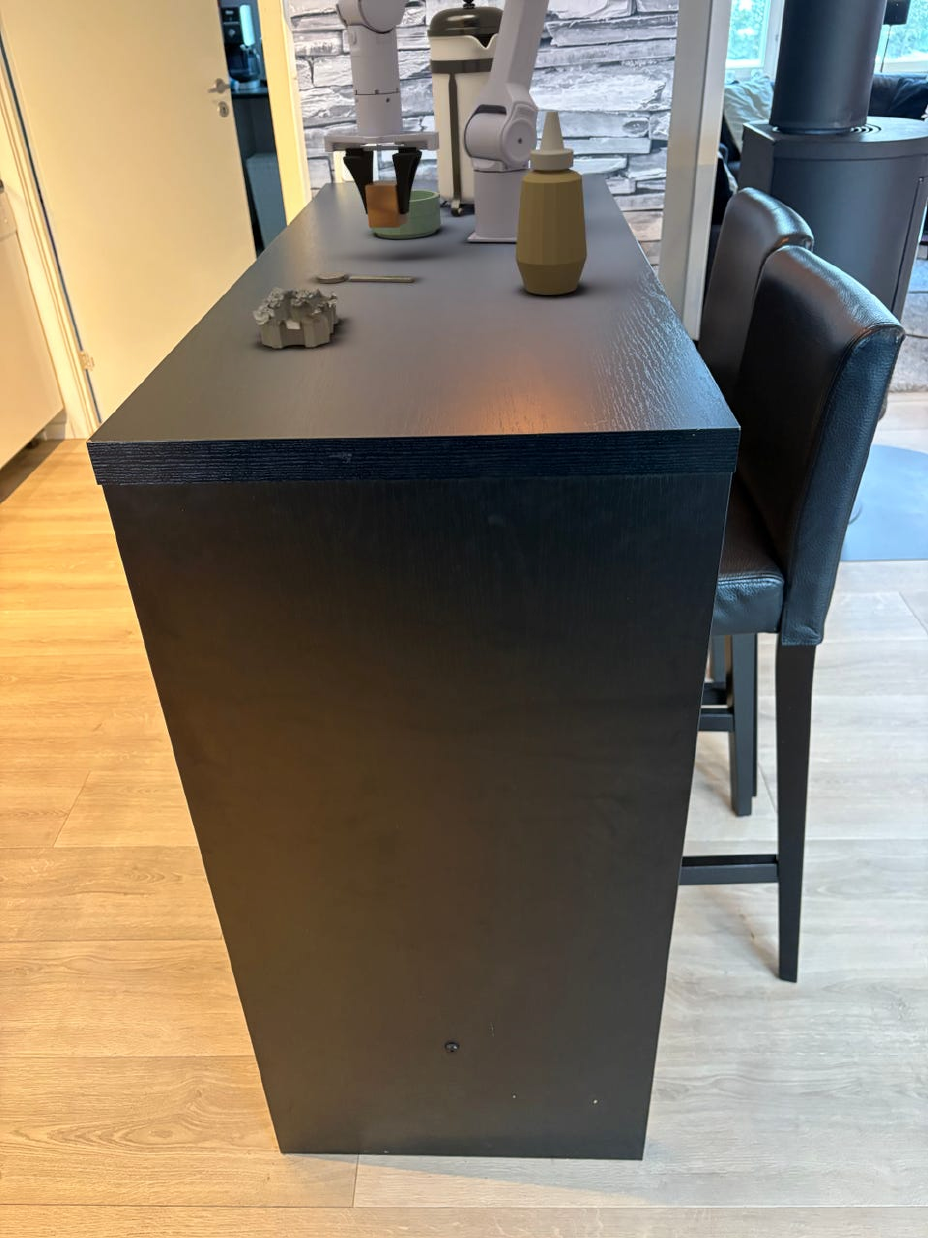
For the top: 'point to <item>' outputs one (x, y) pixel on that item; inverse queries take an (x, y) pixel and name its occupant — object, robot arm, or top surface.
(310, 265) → the top surface
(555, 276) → the squeeze bottle
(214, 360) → the top surface
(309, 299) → the grey succulent planter
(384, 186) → the block
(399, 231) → the bowl
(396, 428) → the top surface
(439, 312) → the top surface
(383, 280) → the spoon
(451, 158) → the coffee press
